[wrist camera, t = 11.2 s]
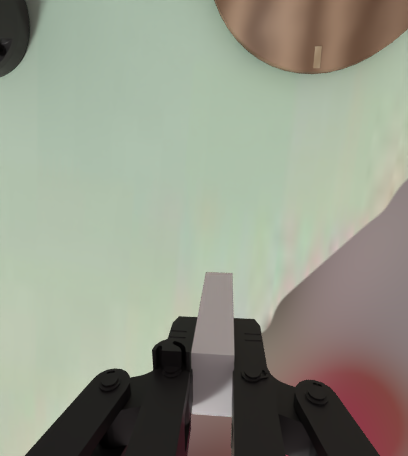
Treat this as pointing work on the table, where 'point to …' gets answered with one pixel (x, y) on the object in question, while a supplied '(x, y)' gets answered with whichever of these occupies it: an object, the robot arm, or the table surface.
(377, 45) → the turntable
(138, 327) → the table surface
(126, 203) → the table surface
